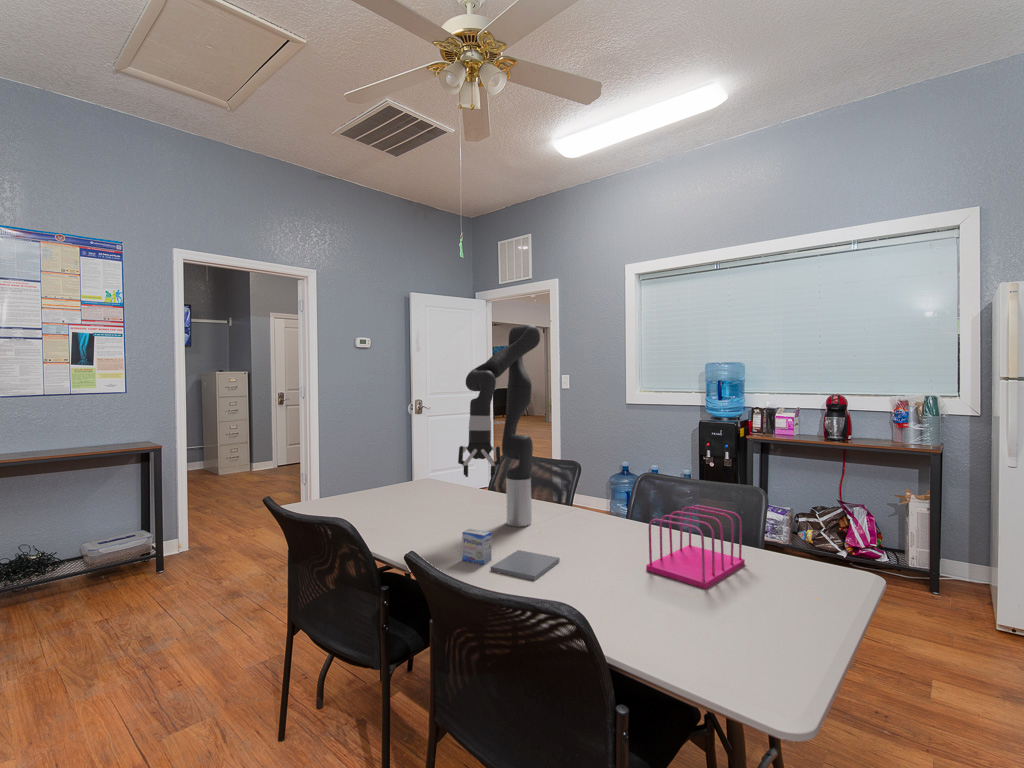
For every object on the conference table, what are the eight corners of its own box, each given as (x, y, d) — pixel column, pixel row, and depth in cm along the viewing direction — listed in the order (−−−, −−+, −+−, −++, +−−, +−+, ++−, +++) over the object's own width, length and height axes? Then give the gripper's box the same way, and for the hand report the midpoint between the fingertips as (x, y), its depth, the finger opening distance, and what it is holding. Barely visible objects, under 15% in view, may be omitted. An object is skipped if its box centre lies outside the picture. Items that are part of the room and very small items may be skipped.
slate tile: (518, 553, 156) (518, 550, 156) (559, 561, 149) (559, 557, 149) (490, 570, 142) (490, 566, 142) (534, 580, 135) (534, 576, 135)
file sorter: (645, 571, 141) (645, 515, 141) (688, 550, 159) (688, 500, 159) (705, 589, 129) (705, 528, 129) (745, 565, 146) (745, 511, 146)
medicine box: (461, 560, 150) (461, 531, 150) (469, 556, 154) (469, 528, 154) (484, 565, 146) (484, 535, 146) (492, 560, 150) (492, 531, 150)
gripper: (501, 428, 175) (500, 475, 174) (460, 428, 176) (459, 475, 175) (500, 429, 168) (499, 478, 167) (457, 429, 168) (456, 478, 167)
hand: (479, 476), depth 171 cm, fingers open, 8 cm apart
